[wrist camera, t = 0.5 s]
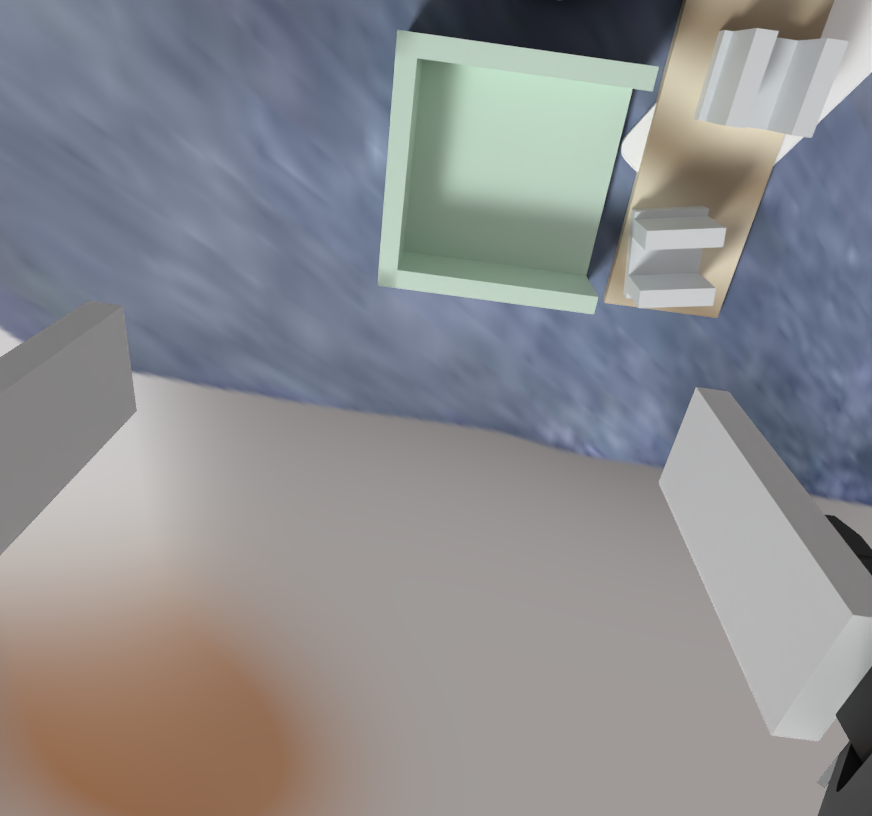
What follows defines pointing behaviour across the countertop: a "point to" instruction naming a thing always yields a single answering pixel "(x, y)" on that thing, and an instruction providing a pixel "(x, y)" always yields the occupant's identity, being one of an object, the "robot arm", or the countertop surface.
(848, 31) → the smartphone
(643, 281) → the clip
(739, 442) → the robot arm
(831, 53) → the clip
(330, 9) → the countertop surface
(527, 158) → the green open box
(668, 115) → the board
